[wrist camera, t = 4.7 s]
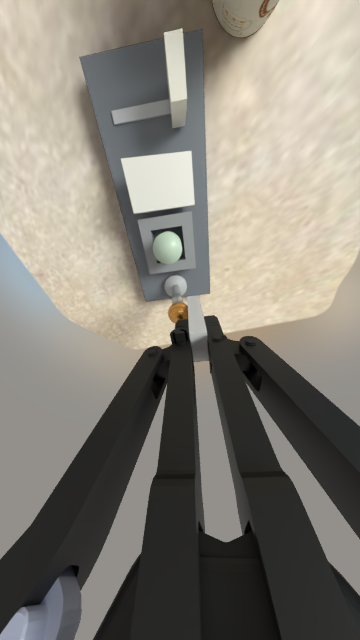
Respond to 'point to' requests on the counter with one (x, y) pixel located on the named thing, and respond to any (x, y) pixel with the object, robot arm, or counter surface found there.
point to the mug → (243, 15)
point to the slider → (176, 76)
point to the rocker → (159, 181)
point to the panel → (155, 153)
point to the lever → (177, 306)
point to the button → (167, 247)
